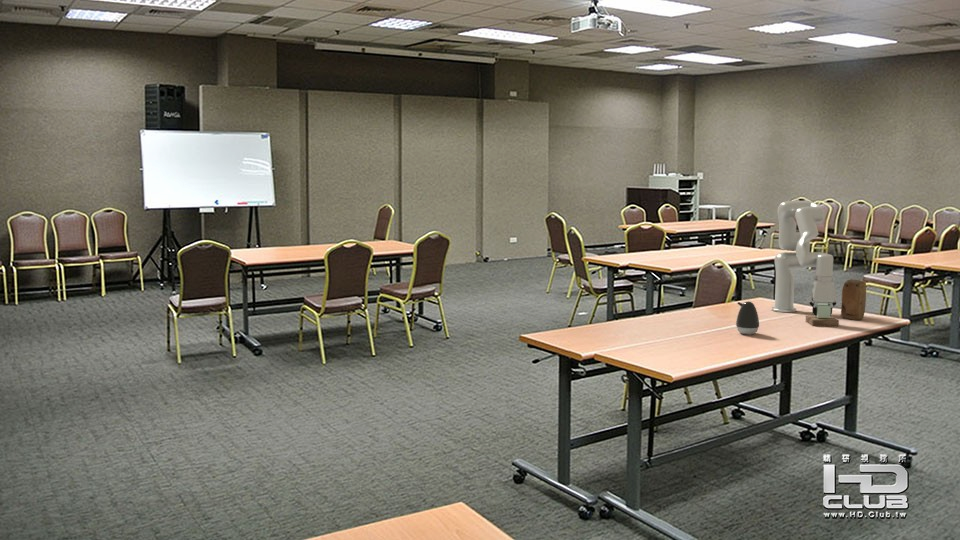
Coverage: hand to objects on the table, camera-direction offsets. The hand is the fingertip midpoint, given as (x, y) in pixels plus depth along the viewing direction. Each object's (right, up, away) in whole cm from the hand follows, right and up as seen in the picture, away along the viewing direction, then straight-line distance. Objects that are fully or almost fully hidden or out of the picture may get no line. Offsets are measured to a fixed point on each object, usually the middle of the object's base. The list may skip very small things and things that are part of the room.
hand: (822, 314), depth 393 cm
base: (0, -5, +1) cm, 5 cm away
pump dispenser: (-45, -8, -22) cm, 50 cm away
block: (+21, -3, +14) cm, 26 cm away
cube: (0, -1, 0) cm, 1 cm away
